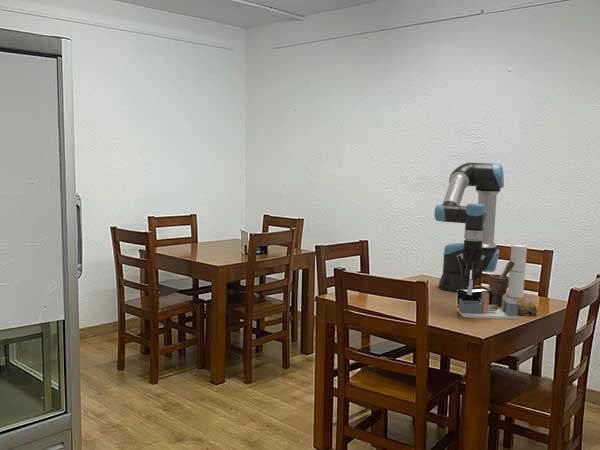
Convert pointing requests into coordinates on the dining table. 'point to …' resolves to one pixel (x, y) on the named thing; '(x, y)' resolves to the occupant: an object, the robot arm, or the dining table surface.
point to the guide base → (475, 311)
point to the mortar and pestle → (499, 284)
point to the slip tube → (486, 303)
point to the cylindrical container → (517, 271)
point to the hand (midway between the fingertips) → (469, 294)
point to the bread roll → (526, 308)
